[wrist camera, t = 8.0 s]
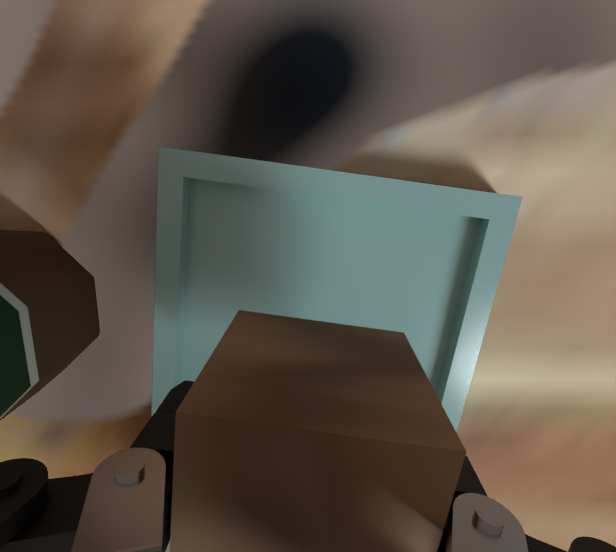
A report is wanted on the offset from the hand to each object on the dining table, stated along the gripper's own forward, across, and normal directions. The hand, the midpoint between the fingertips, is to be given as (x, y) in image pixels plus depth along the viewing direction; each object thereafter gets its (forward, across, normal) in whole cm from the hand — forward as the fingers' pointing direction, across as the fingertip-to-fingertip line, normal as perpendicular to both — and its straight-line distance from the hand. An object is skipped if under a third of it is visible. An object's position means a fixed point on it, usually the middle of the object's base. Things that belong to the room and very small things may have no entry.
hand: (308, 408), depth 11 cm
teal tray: (+7, 0, 0) cm, 7 cm away
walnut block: (+1, 0, 0) cm, 1 cm away
